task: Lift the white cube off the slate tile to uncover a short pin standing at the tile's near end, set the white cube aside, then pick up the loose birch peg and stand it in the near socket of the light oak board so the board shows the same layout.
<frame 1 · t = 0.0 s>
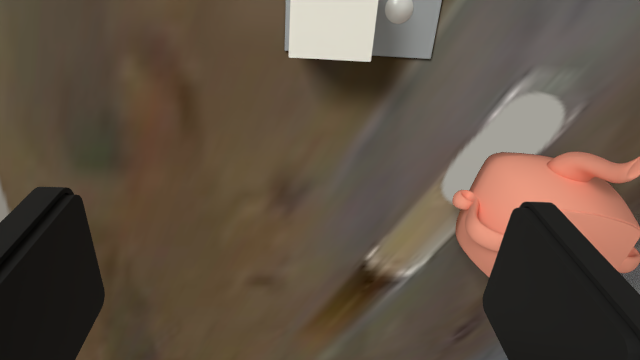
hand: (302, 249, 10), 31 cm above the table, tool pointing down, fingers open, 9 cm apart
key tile: (363, 5, 37), on the table
white cube: (328, 4, 36), resting on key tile
teapot: (512, 193, 47), on the table
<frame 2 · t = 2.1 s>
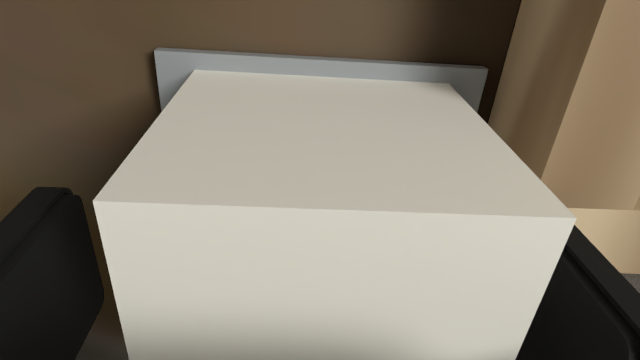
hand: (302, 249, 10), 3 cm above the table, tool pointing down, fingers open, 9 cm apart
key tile: (310, 262, 14), on the table
white cube: (316, 186, 12), resting on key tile
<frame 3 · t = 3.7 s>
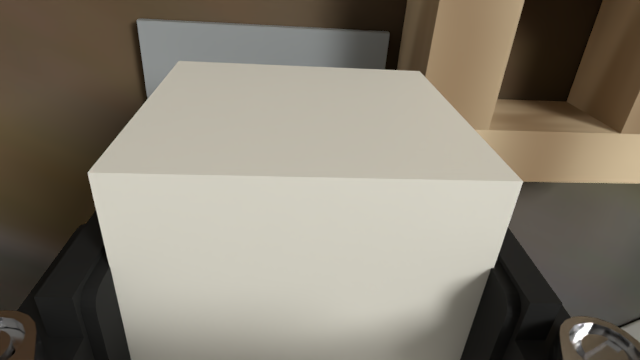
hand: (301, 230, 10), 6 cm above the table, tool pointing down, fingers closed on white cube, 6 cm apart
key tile: (266, 195, 17), on the table
white cube: (297, 171, 13), point 4 cm above the table, touching gripper
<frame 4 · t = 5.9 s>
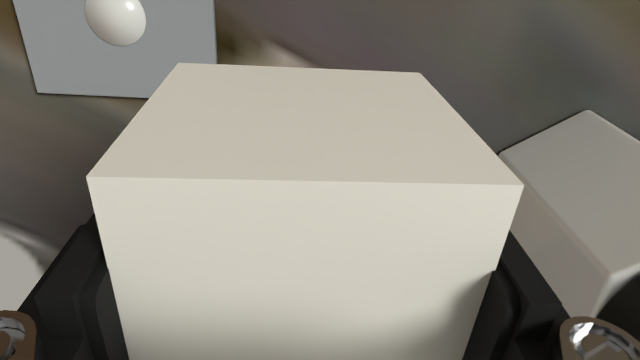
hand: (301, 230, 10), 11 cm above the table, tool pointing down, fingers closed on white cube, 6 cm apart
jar: (558, 184, 24), on the table
white cube: (297, 173, 13), point 8 cm above the table, touching gripper
when the fingers open (3 cm above the table, at t = 7.9 s): white cube stays where it is, on the table.
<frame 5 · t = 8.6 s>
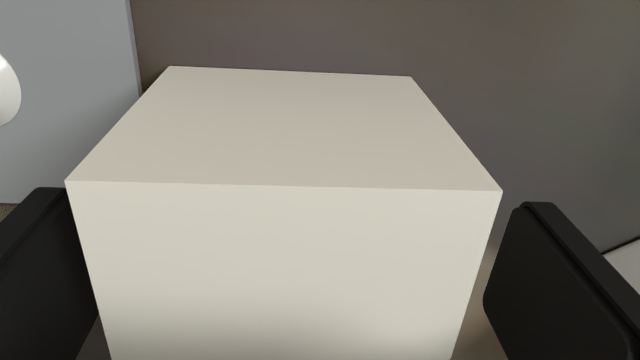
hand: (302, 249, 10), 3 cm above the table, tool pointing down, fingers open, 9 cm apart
white cube: (289, 176, 13), on the table
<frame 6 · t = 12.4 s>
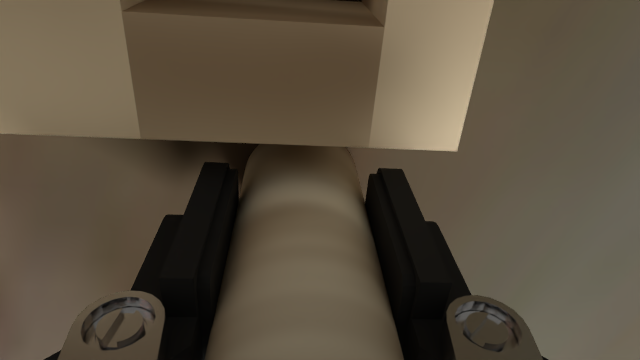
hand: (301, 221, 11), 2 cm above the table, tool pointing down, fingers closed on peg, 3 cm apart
peg: (300, 180, 12), on the table, touching gripper
when the fingers open (4 cm above the table, at t = 17.1 s): peg drops 2 cm, resting in peg board.
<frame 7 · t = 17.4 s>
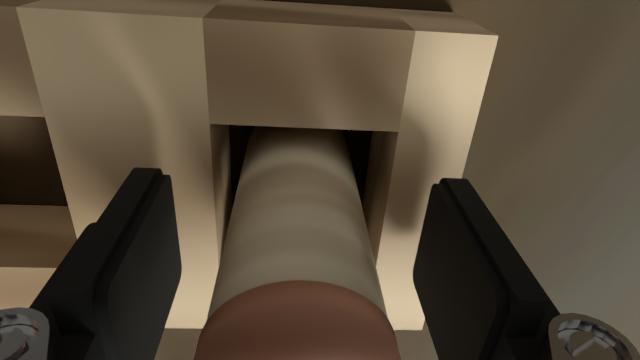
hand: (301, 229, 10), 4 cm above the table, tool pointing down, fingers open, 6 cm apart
peg board: (171, 150, 13), on the table
peg: (297, 154, 14), resting in peg board
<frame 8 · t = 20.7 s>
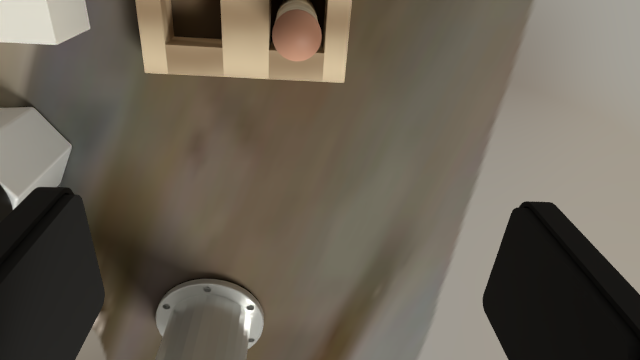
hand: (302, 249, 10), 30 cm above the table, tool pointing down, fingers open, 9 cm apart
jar: (25, 145, 41), on the table
peg board: (248, 13, 36), on the table
peg: (296, 16, 36), resting in peg board
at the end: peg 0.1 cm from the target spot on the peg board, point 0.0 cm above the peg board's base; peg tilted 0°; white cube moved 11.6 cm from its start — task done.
